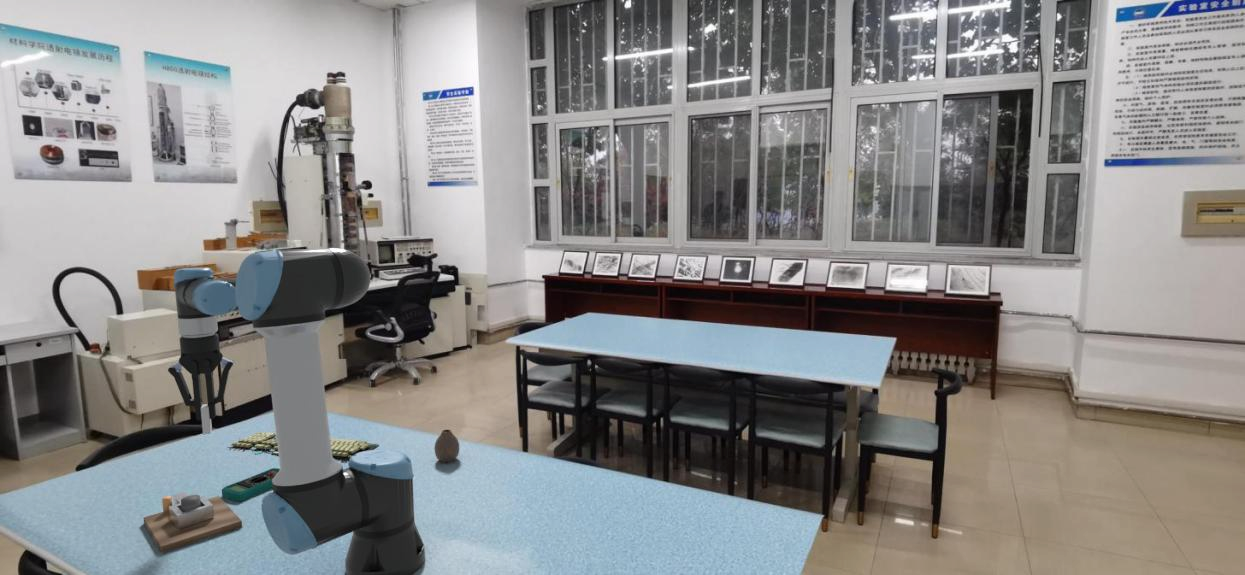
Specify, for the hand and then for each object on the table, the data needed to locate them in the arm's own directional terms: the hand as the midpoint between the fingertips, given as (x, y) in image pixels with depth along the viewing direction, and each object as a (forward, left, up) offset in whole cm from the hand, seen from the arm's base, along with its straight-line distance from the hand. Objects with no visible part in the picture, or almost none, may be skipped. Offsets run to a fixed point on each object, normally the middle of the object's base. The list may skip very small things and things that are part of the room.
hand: (207, 432), depth 148 cm
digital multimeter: (+5, -11, -20) cm, 23 cm away
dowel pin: (+3, +8, -18) cm, 20 cm away
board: (-5, +6, -19) cm, 21 cm away
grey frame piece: (-2, +6, -18) cm, 19 cm away
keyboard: (+26, -28, -20) cm, 44 cm away
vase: (-14, -54, -19) cm, 60 cm away
